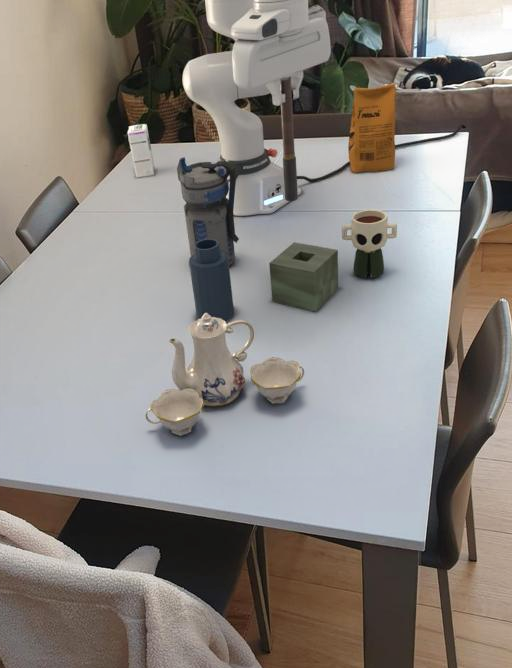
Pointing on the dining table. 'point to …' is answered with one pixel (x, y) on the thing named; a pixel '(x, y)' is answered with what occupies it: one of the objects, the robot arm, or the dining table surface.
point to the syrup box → (141, 150)
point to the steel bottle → (211, 280)
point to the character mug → (369, 240)
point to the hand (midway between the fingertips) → (285, 101)
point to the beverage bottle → (209, 203)
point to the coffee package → (372, 129)
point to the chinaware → (217, 376)
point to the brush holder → (304, 276)
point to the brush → (288, 142)
